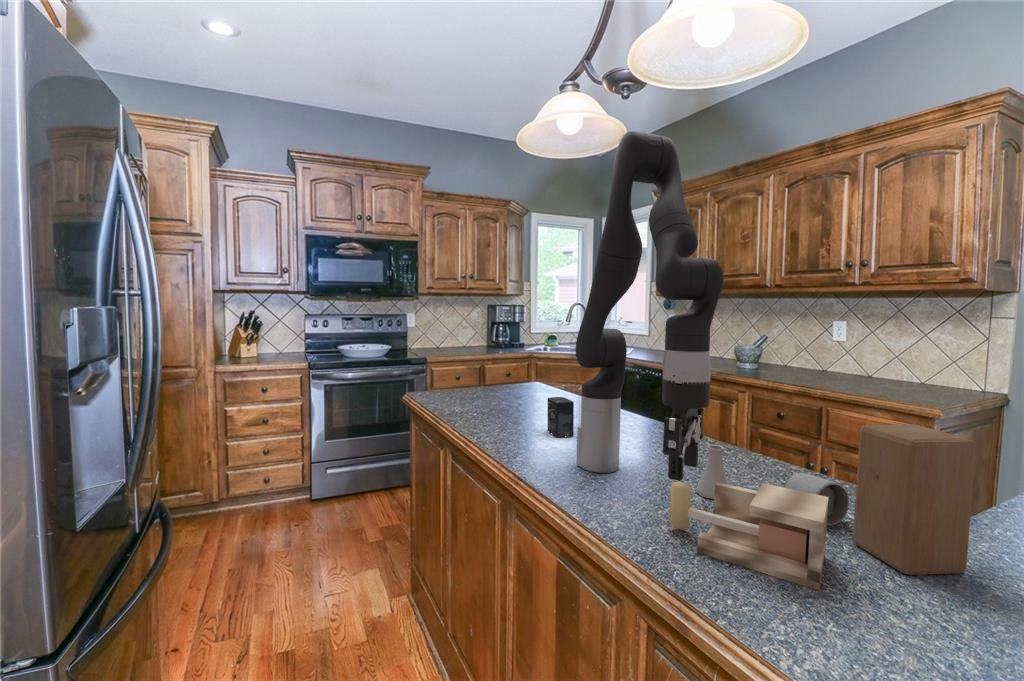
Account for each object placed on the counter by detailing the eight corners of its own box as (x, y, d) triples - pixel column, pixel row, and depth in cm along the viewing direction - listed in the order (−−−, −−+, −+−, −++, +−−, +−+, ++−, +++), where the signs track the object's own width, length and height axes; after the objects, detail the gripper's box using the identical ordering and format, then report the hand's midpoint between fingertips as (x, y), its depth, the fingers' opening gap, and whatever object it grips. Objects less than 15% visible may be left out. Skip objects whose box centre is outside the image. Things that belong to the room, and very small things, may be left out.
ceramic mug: (810, 505, 91) (812, 466, 91) (849, 523, 83) (851, 481, 83) (764, 510, 89) (766, 471, 89) (800, 530, 81) (801, 487, 81)
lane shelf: (697, 552, 73) (699, 493, 72) (715, 526, 82) (717, 473, 81) (819, 590, 63) (823, 522, 62) (824, 557, 72) (828, 497, 71)
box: (573, 437, 138) (574, 401, 137) (556, 438, 136) (556, 401, 136) (563, 430, 146) (564, 396, 145) (546, 431, 144) (547, 396, 143)
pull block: (664, 528, 78) (665, 488, 78) (675, 516, 83) (677, 478, 83) (804, 570, 66) (807, 522, 66) (808, 553, 71) (811, 508, 71)
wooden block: (849, 543, 76) (857, 423, 75) (905, 541, 77) (914, 422, 76) (905, 578, 66) (915, 440, 65) (969, 575, 67) (980, 440, 66)
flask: (737, 502, 92) (739, 453, 91) (698, 499, 93) (700, 450, 93) (727, 489, 99) (730, 443, 98) (691, 486, 101) (693, 440, 100)
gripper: (676, 371, 86) (674, 458, 87) (648, 379, 75) (646, 479, 75) (720, 375, 82) (717, 466, 82) (697, 384, 70) (694, 489, 71)
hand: (683, 472), depth 79 cm, fingers open, 8 cm apart
